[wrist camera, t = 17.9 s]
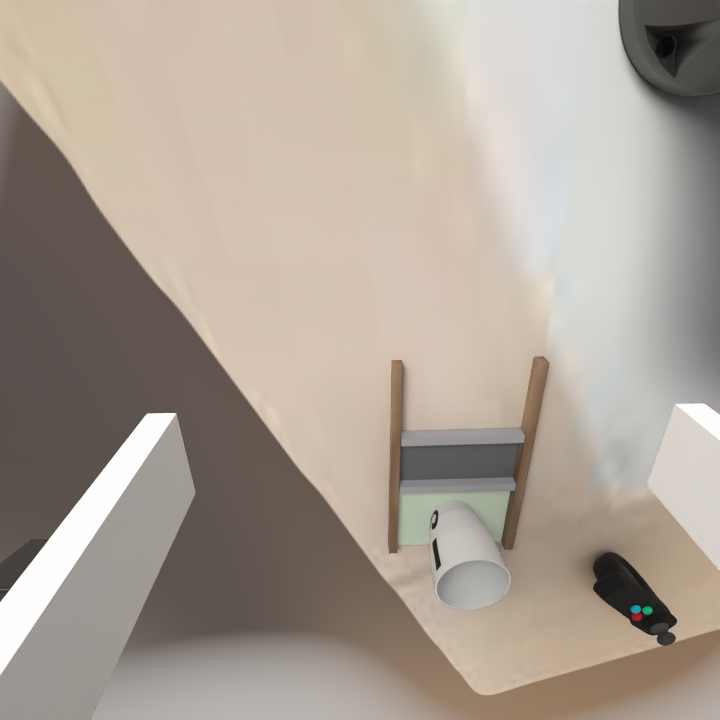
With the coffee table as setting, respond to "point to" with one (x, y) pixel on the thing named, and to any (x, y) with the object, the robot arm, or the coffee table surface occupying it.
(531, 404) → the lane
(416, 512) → the pad
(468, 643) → the coffee table surface
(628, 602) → the controller
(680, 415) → the robot arm
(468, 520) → the cup
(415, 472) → the tray
